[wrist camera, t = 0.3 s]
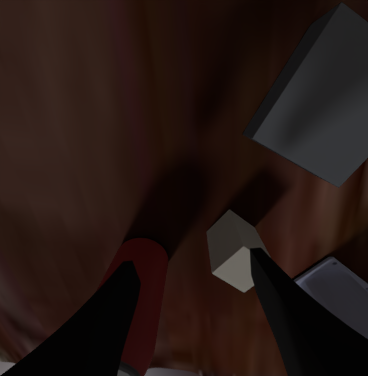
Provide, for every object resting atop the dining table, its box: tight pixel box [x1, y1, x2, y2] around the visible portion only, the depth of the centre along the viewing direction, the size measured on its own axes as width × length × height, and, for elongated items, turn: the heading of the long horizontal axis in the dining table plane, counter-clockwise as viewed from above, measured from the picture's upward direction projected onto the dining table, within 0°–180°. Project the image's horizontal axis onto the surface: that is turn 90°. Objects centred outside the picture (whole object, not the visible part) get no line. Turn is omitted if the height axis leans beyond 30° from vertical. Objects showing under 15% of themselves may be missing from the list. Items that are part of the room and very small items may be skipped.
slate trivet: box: [243, 2, 368, 188], centre depth 14 cm, size 9×9×3 cm
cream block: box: [207, 209, 271, 292], centre depth 18 cm, size 4×4×6 cm
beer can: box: [97, 238, 168, 376], centre depth 18 cm, size 7×7×12 cm
